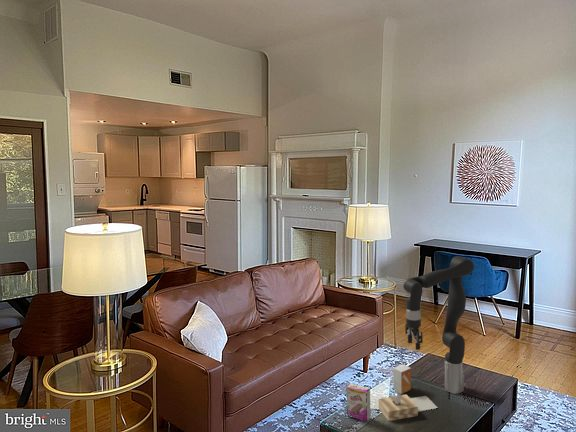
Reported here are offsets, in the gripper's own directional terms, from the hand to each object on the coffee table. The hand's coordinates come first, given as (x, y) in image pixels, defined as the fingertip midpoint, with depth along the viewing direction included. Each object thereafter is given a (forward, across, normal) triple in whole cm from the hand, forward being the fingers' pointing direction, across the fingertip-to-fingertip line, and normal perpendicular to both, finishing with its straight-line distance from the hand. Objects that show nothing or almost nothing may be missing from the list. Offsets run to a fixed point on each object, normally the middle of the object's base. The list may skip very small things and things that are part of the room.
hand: (413, 346), depth 231 cm
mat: (+30, -6, -1) cm, 30 cm away
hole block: (+30, -9, +14) cm, 34 cm away
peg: (+30, -9, +14) cm, 34 cm away
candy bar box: (+30, -8, +35) cm, 47 cm away
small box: (+30, +10, +2) cm, 32 cm away
